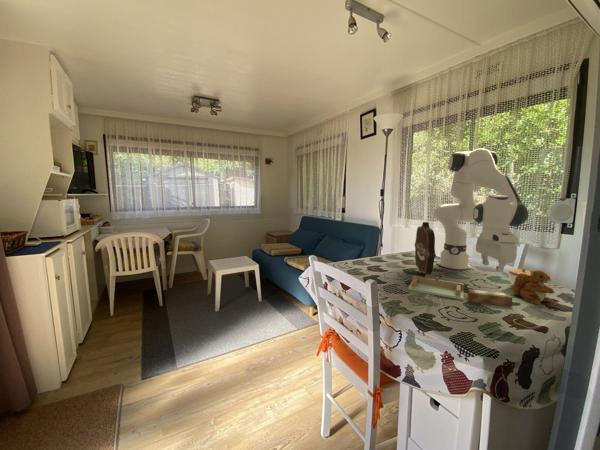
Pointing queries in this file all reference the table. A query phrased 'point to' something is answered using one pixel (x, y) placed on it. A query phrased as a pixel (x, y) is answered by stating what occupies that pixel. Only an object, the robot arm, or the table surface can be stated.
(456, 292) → the shallow tray
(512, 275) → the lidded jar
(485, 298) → the brown rectangular block
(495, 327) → the table surface
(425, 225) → the decorative plaque
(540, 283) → the stuffed squirrel
